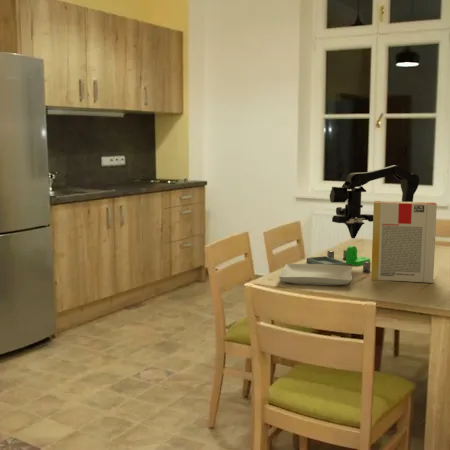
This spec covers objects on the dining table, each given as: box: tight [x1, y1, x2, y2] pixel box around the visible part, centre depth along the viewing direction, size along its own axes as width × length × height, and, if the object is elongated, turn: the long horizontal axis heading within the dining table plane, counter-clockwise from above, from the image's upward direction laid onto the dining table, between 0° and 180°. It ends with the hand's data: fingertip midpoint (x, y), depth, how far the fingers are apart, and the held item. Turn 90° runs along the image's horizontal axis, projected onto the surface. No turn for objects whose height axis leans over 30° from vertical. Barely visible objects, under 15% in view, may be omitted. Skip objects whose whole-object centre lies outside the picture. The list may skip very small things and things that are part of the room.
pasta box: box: [370, 200, 438, 284], centre depth 236 cm, size 23×8×30 cm, turn 75°
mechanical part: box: [345, 245, 371, 267], centre depth 270 cm, size 12×6×8 cm, turn 135°
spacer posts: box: [326, 249, 372, 273], centre depth 267 cm, size 19×31×4 cm, turn 24°
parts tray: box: [306, 255, 347, 266], centre depth 266 cm, size 10×16×2 cm, turn 24°
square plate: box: [278, 263, 353, 286], centre depth 238 cm, size 27×27×4 cm
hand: (353, 238), depth 264 cm, fingers closed
